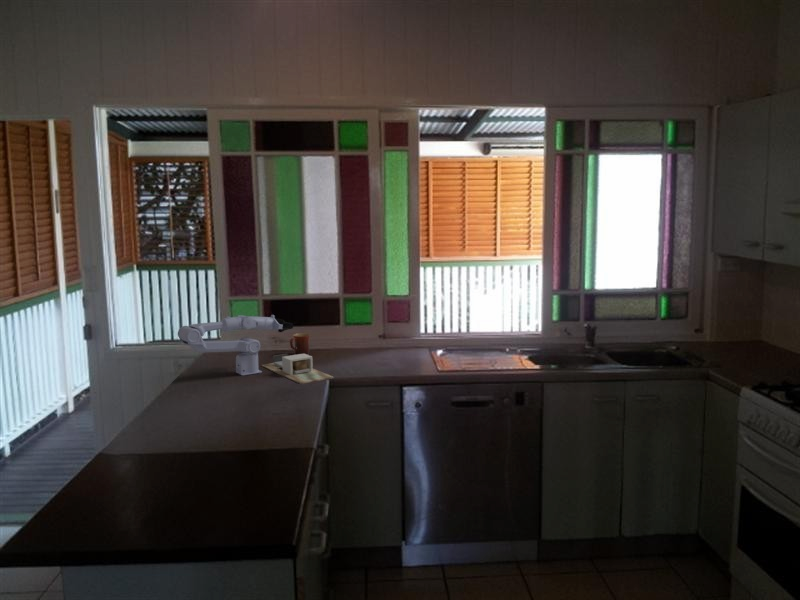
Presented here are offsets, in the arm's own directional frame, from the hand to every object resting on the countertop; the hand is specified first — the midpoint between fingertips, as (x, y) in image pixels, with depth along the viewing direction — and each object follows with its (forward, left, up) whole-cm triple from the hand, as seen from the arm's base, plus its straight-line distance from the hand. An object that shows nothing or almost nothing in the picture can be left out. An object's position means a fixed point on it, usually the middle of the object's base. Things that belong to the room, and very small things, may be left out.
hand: (288, 324), depth 293 cm
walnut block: (-3, -16, -18) cm, 24 cm away
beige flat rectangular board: (-3, -12, -20) cm, 23 cm away
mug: (+14, +17, -20) cm, 29 cm away
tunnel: (-3, -14, -20) cm, 25 cm away
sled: (-3, -8, -19) cm, 20 cm away
